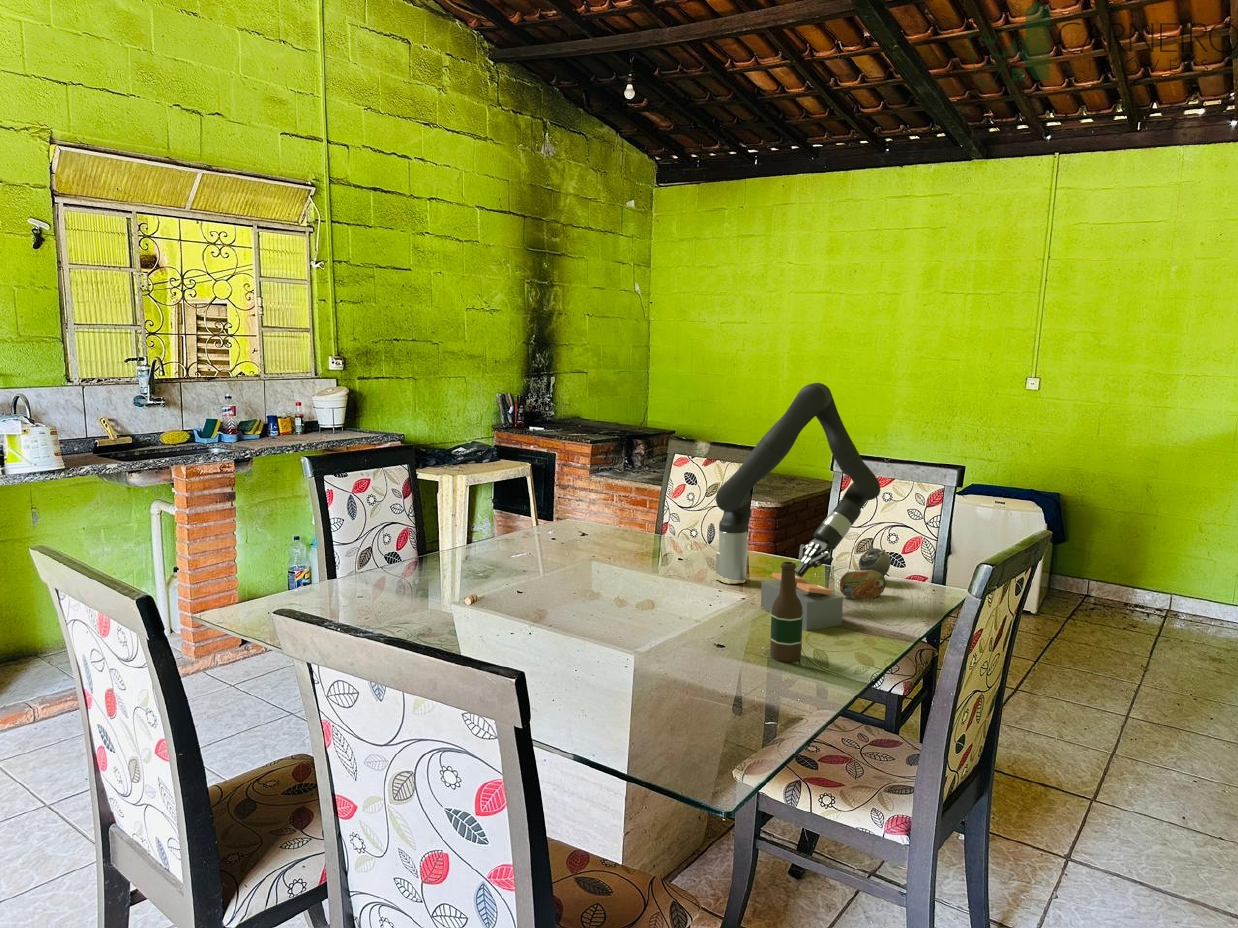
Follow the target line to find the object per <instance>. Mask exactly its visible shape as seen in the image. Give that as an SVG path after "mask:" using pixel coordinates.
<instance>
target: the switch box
mask: <svg viewBox="0 0 1238 928" xmlns="http://www.w3.org/2000/svg"><path fill="white" fill-rule="evenodd" d="M805 584H811V583H809V582H807V581H805ZM780 585H781V580H779V579H774V580H765V581H761V586H760V589H761V591H760V592H761V593H760V608H761V607H763V608H764V609H766V610H767V611H766V610H765V611H766V612H768V611H769V612H768V613H770V612H771V613H772V606H773V604H774V601H775V600H776V598H777V597H778V595H779V592H780ZM796 586H797V583H795V589H796V595H797V597H798V598H799V600H800V601H801V604H802V610H803V620H802V630H804V631H806V632H807V631H808V632H809V631H814V630H819V629H826V628H827V629H828V628H832V627H837V626H842V625H843V602H844V597H843V596H841V595H838V594H836V593H834V592H832V594H831V595H830V594H821V593H812V592H807V591H805V590H802V589H800V588H798V587H796ZM764 609H763V610H764ZM771 613H770V614H771Z"/></svg>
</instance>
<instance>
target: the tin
mask: <svg viewBox="0 0 1238 928" xmlns="http://www.w3.org/2000/svg"><path fill="white" fill-rule="evenodd" d="M886 582H887V581H886V578H885V576H883V574H882V573H881V572H879V571H875V570H864V571H860V570H856V571H848V572H846V573H845V574H843V575H842V576H841V577H840V580H839V590H840V593H841V594H842V596H845V598H848V599H850V600H859V599H870V598H876V597H879V596H881V594H883V592H884V590H885V587H886V585H887V583H886Z"/></svg>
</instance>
